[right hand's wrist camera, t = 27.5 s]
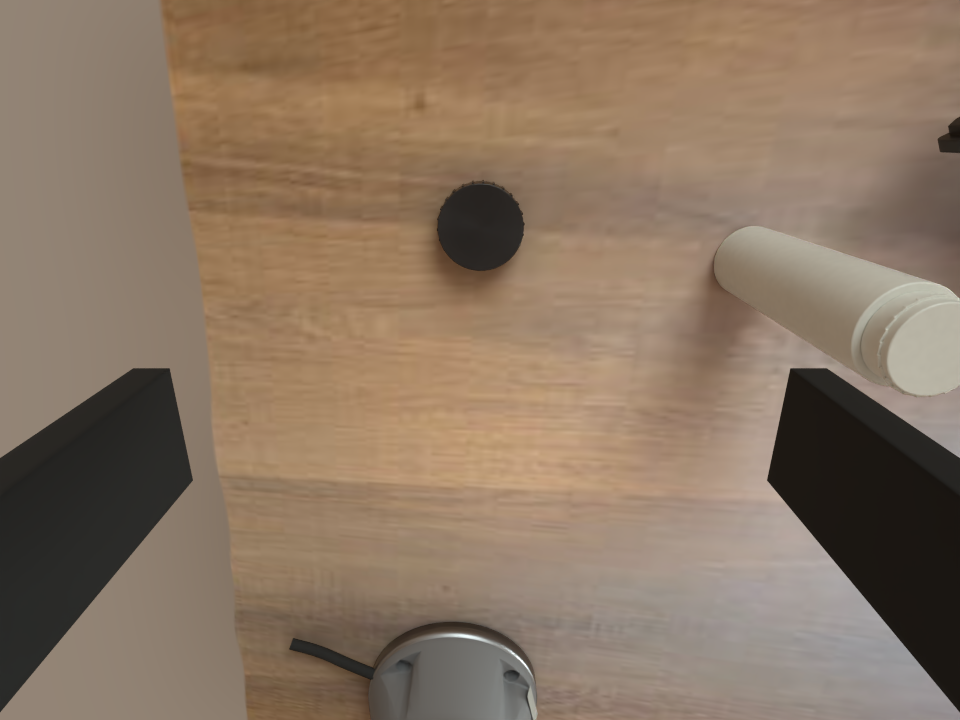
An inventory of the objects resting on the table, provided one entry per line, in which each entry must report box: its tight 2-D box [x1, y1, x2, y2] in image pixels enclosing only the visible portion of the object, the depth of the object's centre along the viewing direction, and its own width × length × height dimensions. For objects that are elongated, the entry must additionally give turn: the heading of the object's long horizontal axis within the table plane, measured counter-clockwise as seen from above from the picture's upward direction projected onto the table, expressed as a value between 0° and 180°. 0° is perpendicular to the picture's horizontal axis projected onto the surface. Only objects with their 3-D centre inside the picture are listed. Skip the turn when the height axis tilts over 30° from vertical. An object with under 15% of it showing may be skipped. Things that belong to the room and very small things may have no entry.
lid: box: [437, 180, 524, 271], centre depth 38 cm, size 6×6×2 cm
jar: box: [714, 226, 960, 397], centre depth 32 cm, size 5×5×18 cm
